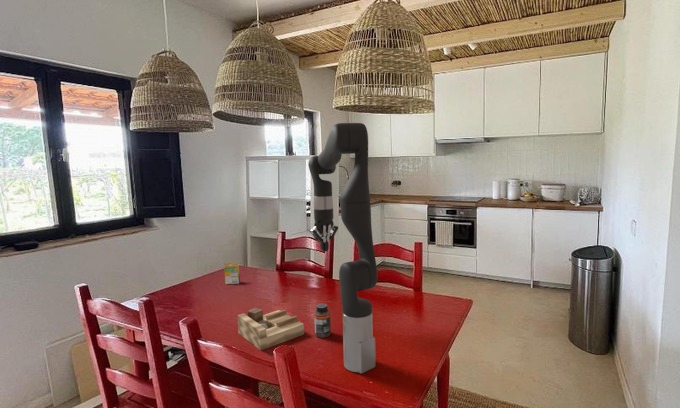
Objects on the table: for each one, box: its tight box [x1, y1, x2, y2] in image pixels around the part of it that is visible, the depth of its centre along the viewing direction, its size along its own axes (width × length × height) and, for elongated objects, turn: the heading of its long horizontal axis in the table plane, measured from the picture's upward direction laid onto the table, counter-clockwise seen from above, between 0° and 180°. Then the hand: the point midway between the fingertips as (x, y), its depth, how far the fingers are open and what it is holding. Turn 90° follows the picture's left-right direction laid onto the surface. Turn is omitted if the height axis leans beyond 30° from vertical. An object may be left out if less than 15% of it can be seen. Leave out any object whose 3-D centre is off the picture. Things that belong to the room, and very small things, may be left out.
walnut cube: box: [247, 307, 264, 322], centre depth 140 cm, size 4×4×4 cm
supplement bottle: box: [313, 303, 332, 339], centre depth 135 cm, size 6×6×11 cm
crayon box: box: [224, 262, 241, 285], centre depth 198 cm, size 7×3×12 cm, turn 93°
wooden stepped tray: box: [237, 309, 305, 351], centre depth 138 cm, size 18×18×7 cm
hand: (324, 251), depth 144 cm, fingers closed
